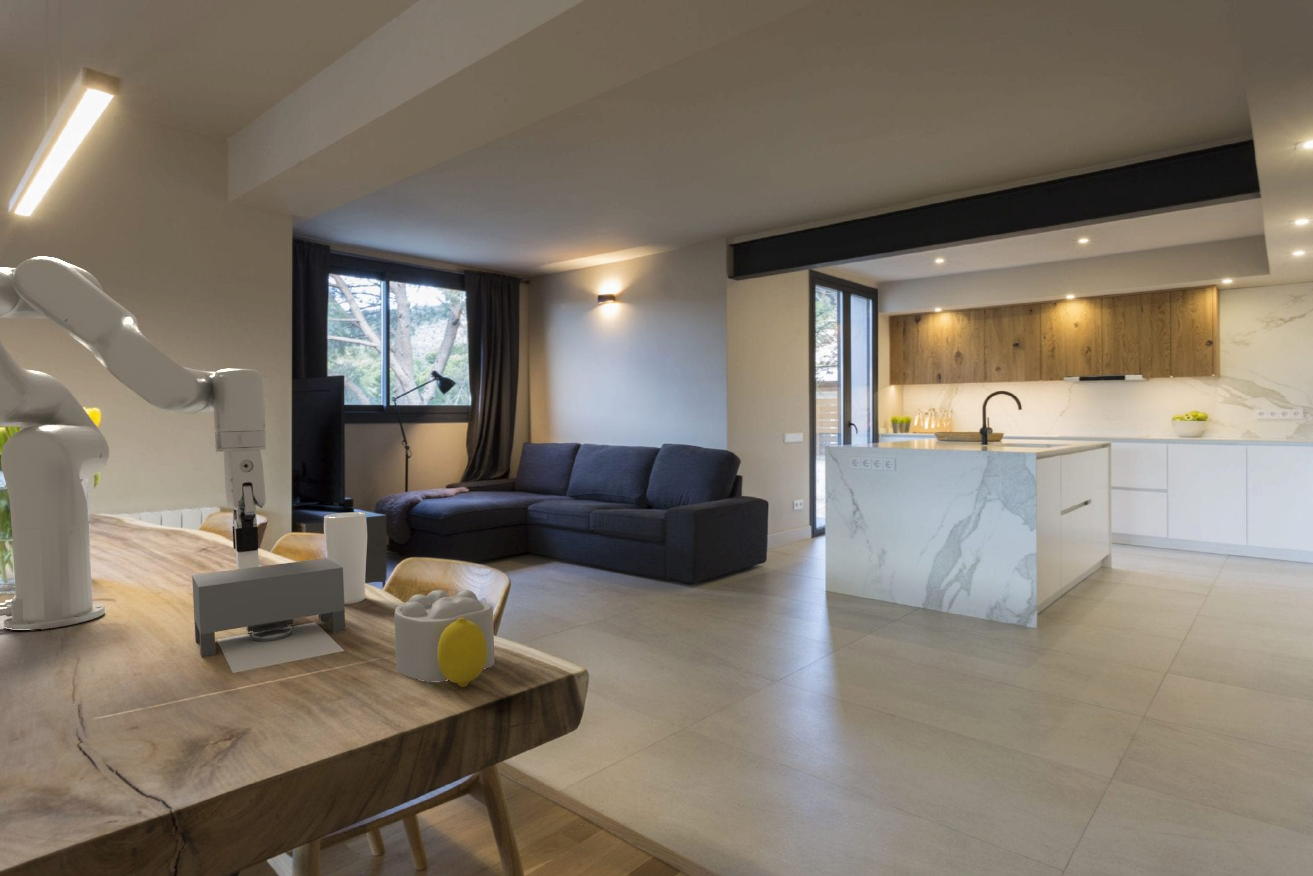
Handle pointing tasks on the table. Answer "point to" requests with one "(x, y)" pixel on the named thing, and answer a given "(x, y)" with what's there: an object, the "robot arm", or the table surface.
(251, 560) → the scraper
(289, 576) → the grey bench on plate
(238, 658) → the mat
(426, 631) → the lumpy-topped squat cylinder
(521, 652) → the table surface
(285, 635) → the disc
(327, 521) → the drinking glass
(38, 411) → the robot arm
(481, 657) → the lemon
